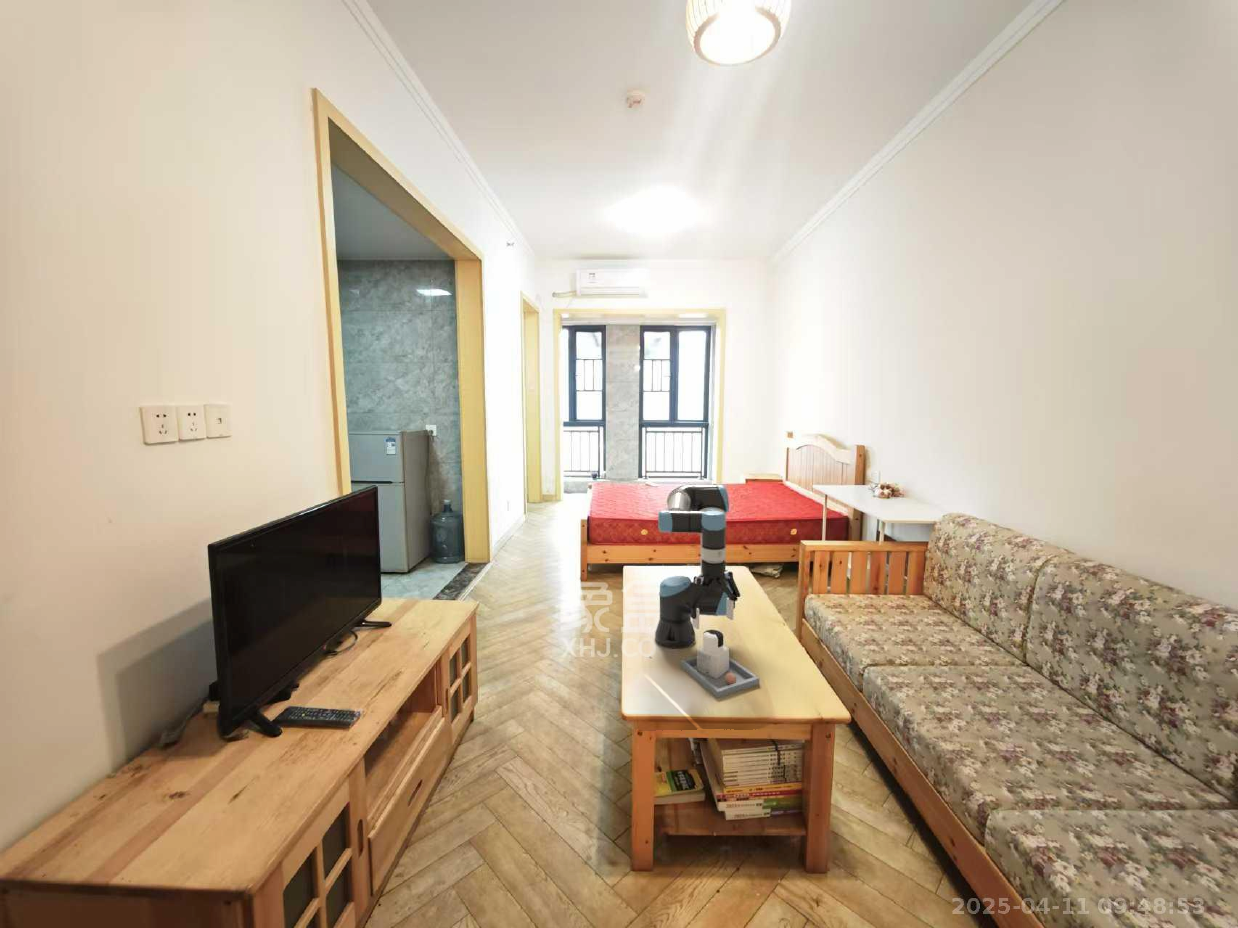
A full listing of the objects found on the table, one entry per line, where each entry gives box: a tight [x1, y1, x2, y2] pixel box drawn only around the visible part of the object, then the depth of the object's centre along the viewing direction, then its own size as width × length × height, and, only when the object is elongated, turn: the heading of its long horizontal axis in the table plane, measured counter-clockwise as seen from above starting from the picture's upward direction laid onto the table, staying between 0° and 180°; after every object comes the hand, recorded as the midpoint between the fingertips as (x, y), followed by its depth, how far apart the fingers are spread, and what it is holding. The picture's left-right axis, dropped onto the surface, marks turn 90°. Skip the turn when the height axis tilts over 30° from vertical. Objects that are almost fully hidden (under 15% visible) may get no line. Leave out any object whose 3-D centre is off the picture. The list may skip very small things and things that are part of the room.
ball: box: [725, 673, 736, 685], centre depth 148 cm, size 4×4×4 cm
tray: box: [680, 655, 760, 699], centre depth 153 cm, size 20×16×3 cm
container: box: [696, 629, 730, 679], centre depth 155 cm, size 8×8×13 cm
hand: (713, 622), depth 155 cm, fingers open, 13 cm apart
